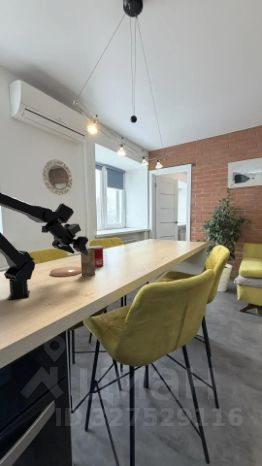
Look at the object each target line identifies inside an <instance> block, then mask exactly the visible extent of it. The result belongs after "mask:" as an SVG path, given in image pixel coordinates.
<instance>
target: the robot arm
mask: <svg viewBox="0 0 262 466" xmlns="http://www.w3.org/2000/svg"><path fill="white" fill-rule="evenodd" d="M0 206H1V207H3V208H6V209H8V210H11V211H14V212H17V213H20V214H22V215H24V216H26V217H27V218H29V219H30V220H31V221H34V222H35V223H36V224H38V223H39V224H45V225H41V233H42V234H43V233H44V234H45V233H46V234H47V233H49V234H51V235H52V236H53V241H52V243H51V246H52V247H53V248H54V249H57V250H60V251H63V252H67V253H69V254H72V255H74V254H75V252H78V253H80V254H81V253H82V254H85V255H88V251H87V248H86V247H87V244H88V242H89V238H88V237H87V236H84V235H82V236H81V235H78V236H77V234H78V233H79V232H81V231H82V229H81V226H80V224H79V223H71V224H70V223H68V221H69V220H70V219H71V217H72V216H73V215H74V213H75V212H74V210H73V208H71V207H70V206H68V205H66V204H64V203H59V205H58V207H57V208H56V209H55V211H54V210H52V209H51V208H50V207H45V206H41V205H40V206H39V205H34V204H31V203H28V202H26V201H23V200H20V199H19V198H15V197H13V196H11V195H9V194H6V193H3V192H1V191H0ZM63 224H64V225H63ZM76 236H77V238H76ZM71 245H72V246H71ZM0 254H1V255H2V256H3V257H4V258H5V260H6V263H7V265H8V269H6V271H5V272H4V273H3V276H4V277H5V279H6V280H8V282H9V295H8V298H7V300H8V301H10V300H11V301H13V300H18V299H24V298H29V297H30V294H31V293H30V292H31V290H29V286H28V281H29V280H31V279H32V275H33V272H34V271H35V268H36V267H35V266H36V263H35V261H34V260H35V258H33V257H31V255H30V254H29V252H28V251H25V250H18V249H17V248H16V247H15V246H14V245H13V244H12V243H11V242H10V241H9V240H8V239H7V238H6V237H5V236H4V234H3V233H2V232H1V231H0Z"/></svg>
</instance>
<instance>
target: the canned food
mask: <svg viewBox="0 0 262 466" xmlns="http://www.w3.org/2000/svg"><path fill="white" fill-rule="evenodd" d="M90 247H91V248H94V257H95V268H100V267H103V266H104V247H103V245H91V246H90Z"/></svg>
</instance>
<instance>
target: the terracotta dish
mask: <svg viewBox="0 0 262 466" xmlns="http://www.w3.org/2000/svg"><path fill="white" fill-rule="evenodd" d="M49 273H50V274H51V276H52V277H59V278H61V277H63V278H65V277H72V276H77V275H80V274H82V271H81V266H61V267H57V268H53V269H51V270H50V272H49Z"/></svg>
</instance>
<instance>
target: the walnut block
mask: <svg viewBox="0 0 262 466" xmlns="http://www.w3.org/2000/svg"><path fill="white" fill-rule="evenodd" d="M86 248H87V251H88V255H85V254H82V253H80V267H81V271H82V273H81V276H82V277H92V276H94V275H96V267H95V257H94V248H91V246H89V247H87V246H86Z"/></svg>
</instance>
